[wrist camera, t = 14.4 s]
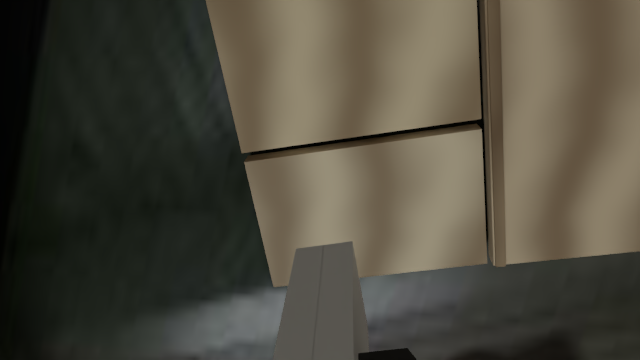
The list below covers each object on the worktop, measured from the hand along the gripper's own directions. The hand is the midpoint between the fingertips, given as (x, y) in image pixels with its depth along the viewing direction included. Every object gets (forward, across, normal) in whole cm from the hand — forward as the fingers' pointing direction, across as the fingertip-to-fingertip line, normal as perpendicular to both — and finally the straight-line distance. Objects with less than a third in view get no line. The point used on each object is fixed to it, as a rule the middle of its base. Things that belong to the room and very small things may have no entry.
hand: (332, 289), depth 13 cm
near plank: (+17, +1, +4) cm, 18 cm away
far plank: (+17, +1, -6) cm, 18 cm away
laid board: (+17, +13, -1) cm, 22 cm away
